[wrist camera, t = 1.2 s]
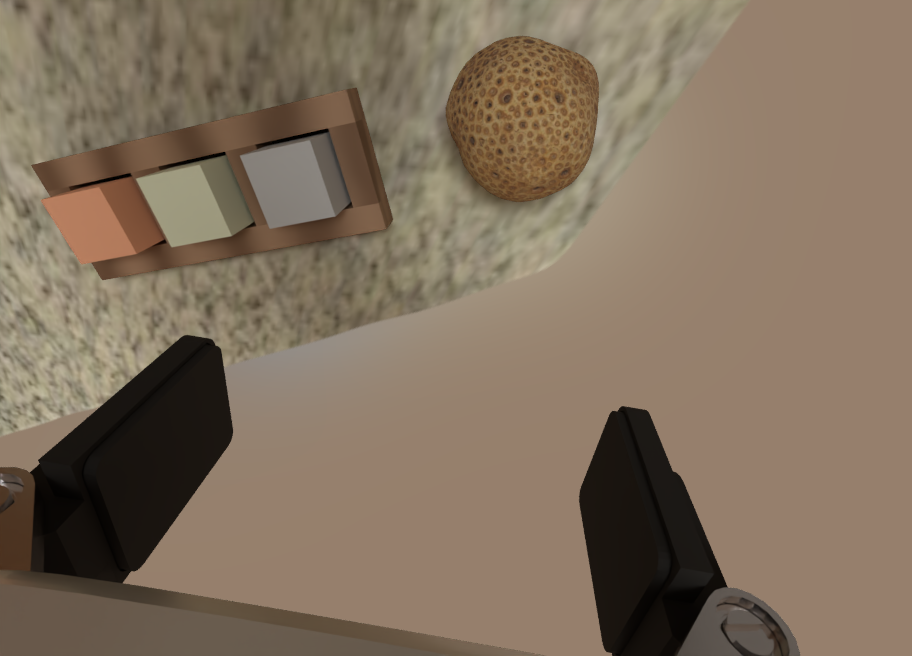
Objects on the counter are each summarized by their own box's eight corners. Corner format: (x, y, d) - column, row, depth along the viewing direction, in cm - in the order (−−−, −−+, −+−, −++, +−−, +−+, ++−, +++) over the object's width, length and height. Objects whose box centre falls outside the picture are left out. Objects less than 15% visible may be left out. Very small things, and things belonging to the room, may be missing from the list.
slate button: (292, 212, 36) (269, 228, 33) (266, 145, 34) (239, 155, 31) (352, 201, 35) (335, 216, 32) (330, 131, 33) (309, 140, 30)
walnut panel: (122, 268, 42) (102, 280, 40) (58, 159, 38) (31, 165, 35) (393, 219, 37) (386, 229, 35) (356, 87, 33) (346, 89, 31)
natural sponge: (435, 146, 34) (411, 175, 26) (487, 11, 30) (479, -7, 21) (545, 197, 36) (557, 242, 27) (610, 75, 31) (650, 82, 23)
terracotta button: (118, 246, 39) (81, 264, 36) (84, 186, 37) (40, 200, 33) (170, 236, 38) (136, 253, 35) (138, 174, 36) (99, 187, 33)
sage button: (202, 230, 38) (171, 247, 34) (171, 167, 35) (135, 178, 32) (257, 219, 37) (231, 236, 33) (230, 154, 35) (199, 164, 31)
